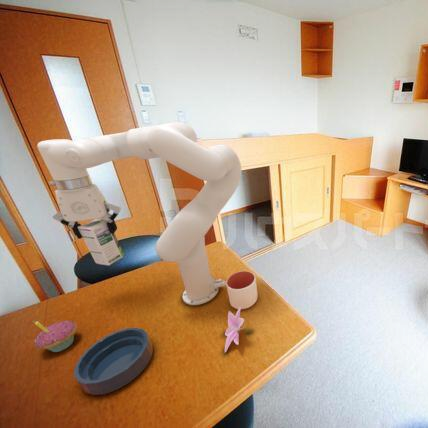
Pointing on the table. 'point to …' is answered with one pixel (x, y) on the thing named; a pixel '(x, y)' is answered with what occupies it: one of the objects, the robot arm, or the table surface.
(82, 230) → the syrup box
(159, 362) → the table surface
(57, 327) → the cupcake
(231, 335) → the lily
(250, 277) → the cup
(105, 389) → the bowl
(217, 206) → the robot arm
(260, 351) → the table surface
